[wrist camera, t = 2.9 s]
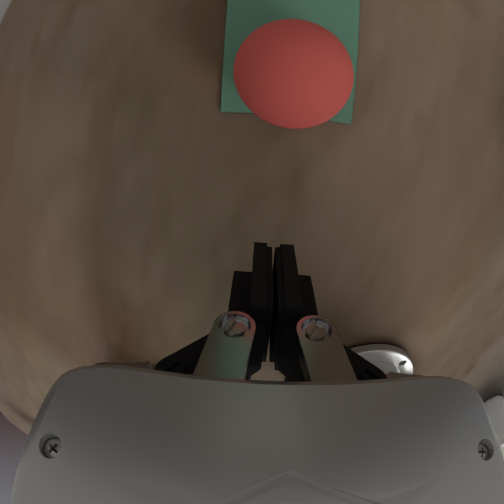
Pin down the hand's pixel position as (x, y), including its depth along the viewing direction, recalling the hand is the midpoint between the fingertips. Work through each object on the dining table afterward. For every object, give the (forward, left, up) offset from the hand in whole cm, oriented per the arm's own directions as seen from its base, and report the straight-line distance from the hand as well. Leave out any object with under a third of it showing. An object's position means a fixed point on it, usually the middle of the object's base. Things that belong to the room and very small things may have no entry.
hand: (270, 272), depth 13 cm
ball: (+1, -9, -5) cm, 10 cm away
